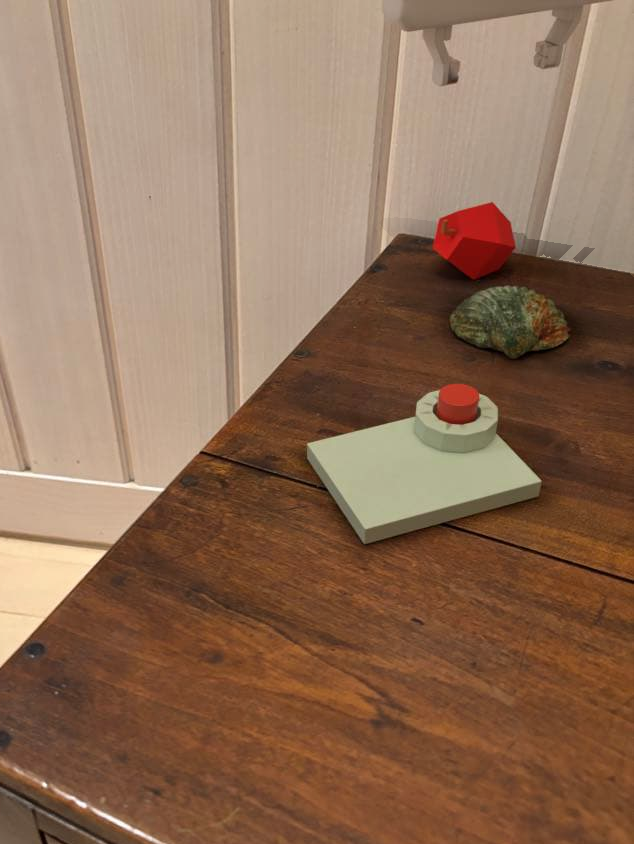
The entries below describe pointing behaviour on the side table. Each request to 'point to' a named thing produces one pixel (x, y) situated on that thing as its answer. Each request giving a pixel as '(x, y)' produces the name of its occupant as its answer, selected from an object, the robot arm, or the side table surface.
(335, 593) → the side table surface
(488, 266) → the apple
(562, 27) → the robot arm
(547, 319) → the seashell
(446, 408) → the button
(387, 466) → the scale
